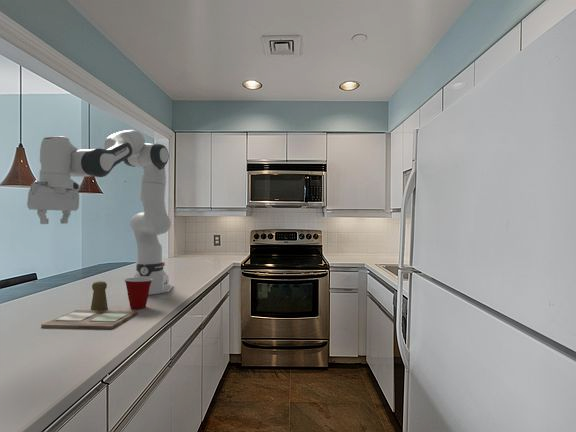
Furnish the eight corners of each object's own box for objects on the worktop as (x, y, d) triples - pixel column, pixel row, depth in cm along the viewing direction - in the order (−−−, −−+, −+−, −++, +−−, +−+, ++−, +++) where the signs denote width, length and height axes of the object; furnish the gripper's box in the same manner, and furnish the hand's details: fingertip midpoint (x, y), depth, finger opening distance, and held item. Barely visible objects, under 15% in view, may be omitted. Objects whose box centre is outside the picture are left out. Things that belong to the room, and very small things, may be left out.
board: (76, 312, 134) (76, 309, 134) (137, 313, 133) (137, 310, 133) (41, 327, 116) (41, 323, 116) (111, 329, 115) (112, 325, 115)
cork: (100, 312, 135) (100, 283, 135) (86, 310, 136) (87, 282, 136) (111, 307, 141) (111, 280, 141) (98, 307, 142) (98, 280, 142)
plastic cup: (158, 305, 146) (158, 276, 146) (140, 312, 135) (141, 281, 135) (136, 303, 148) (136, 275, 148) (117, 309, 138) (117, 279, 138)
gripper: (41, 180, 108) (40, 224, 108) (82, 186, 128) (82, 223, 128) (21, 179, 108) (21, 224, 108) (66, 185, 129) (65, 223, 129)
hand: (54, 223), depth 119 cm, fingers open, 8 cm apart
